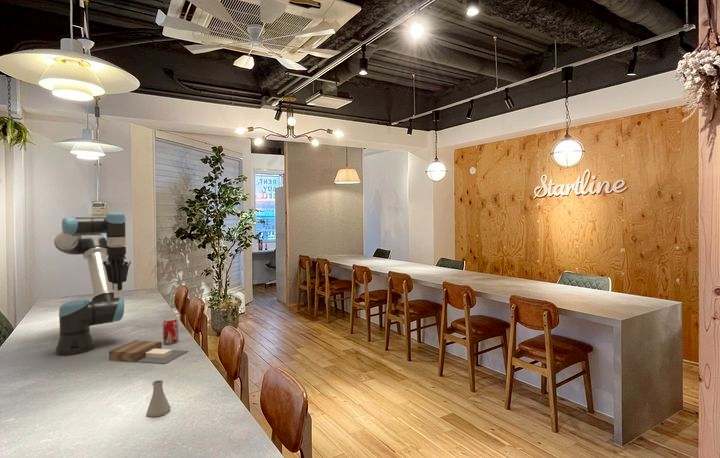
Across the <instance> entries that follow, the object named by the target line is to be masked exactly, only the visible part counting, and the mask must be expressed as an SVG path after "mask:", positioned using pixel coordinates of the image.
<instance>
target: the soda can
mask: <svg viewBox="0 0 720 458" xmlns="http://www.w3.org/2000/svg"><path fill="white" fill-rule="evenodd" d="M162 339H163V340H162V341H163V343H164V344H165V345H172V344H173V345H174V344H176V343H177V342H179V321H178V319H177V317H167V318H164V320H163V322H162Z"/></svg>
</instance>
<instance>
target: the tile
mask: <svg viewBox="0 0 720 458" xmlns="http://www.w3.org/2000/svg"><path fill="white" fill-rule="evenodd" d="M172 350H173V349H169V348H161V349H152V350H150V351H148V352H146V353H145V357H149V358H165V357H167V356H169V355H171V354H172Z"/></svg>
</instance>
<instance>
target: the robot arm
mask: <svg viewBox="0 0 720 458" xmlns="http://www.w3.org/2000/svg"><path fill="white" fill-rule="evenodd" d="M126 222H127V220H126V215H125V213H123V212H108V213H106V214H105V216H104V217H103V216H100V217H99V216H95V217H85V216H84V217H83V216H82V217H81V216H80V217H77V216H75V217H74V216H70V217H64V218H62V222H61V230H62V232H60V233H58V234H57V235H56V236H55V238H54V241H53V242H54V246H55V248H56V249H57V250H59V251H60V252H61V253H64V254H67V255H73V256H75V255H82V256H83V258H84V260H86V261H87V265H88V271H89V276H90V279H91V280H90V281H91V285H92V290H93V297H91V301H90V300H89V299H88V298H81V299H75V300H71V301H68V302H65V303H63V304H61V305H60V307H59V312H58V318H59V322H58V323H59V338H58V341H57V346H55V354H56V355H58V356H70V355H71V356H72V355H78V354H82V353H86V352H89V351H91V350H93V349H94V348H95V341H94V339H93V337H92V334H91V331H90V330H91V329H90V327H91V326H97V325H98V326H99V325H104V324H109V323H114V322H119V321H122V319H123V317H124V313H125V299H124V297H122V291H123V283H125V282H127V279H128V274H129V267H130V265H131V264H132V262H131V260H130V261H128V260H127V258H126V254H127V247H126V245H127V242H126V241H127V239H126V238H127V237H126V236H127V235H126Z"/></svg>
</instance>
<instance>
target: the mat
mask: <svg viewBox="0 0 720 458" xmlns="http://www.w3.org/2000/svg"><path fill="white" fill-rule="evenodd" d="M188 352H189V351H188V350H178V349H172V354H171V355H169V356H167V357H165V358H149V357H145V358H142V359H140V360H138V361H137V362H136V363H143V364H158V365H166V364H168V363H170V362H172V361H173V360H176V359H177V358H179V357H181V356H184V354H186V353H188Z"/></svg>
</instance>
